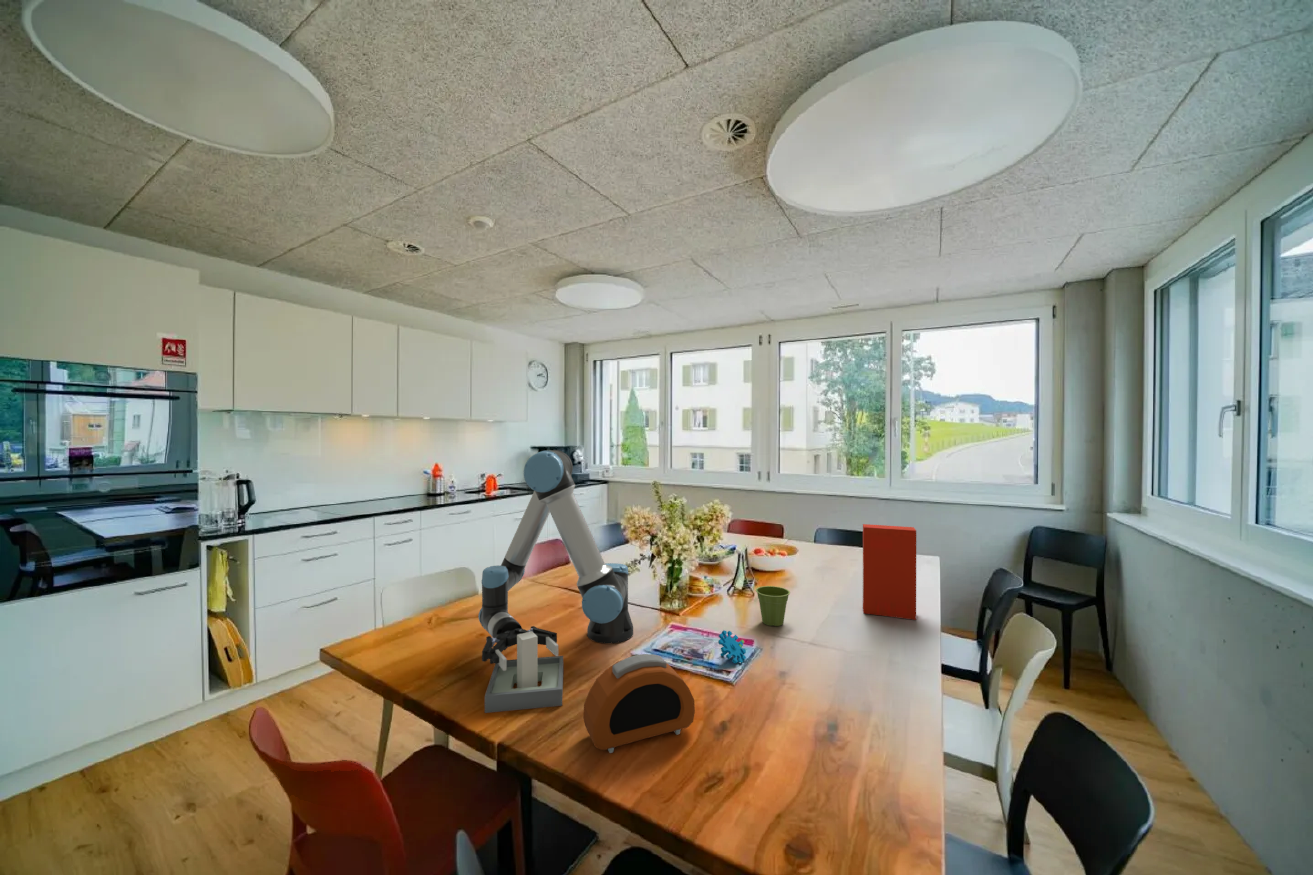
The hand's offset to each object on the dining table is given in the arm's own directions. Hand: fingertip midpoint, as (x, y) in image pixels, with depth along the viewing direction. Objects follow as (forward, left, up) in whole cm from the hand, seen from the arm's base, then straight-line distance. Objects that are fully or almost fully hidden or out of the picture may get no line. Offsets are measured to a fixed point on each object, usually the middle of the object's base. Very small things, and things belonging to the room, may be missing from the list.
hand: (531, 657), depth 121 cm
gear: (-57, -10, -10) cm, 59 cm away
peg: (+1, -3, -10) cm, 10 cm away
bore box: (+1, -3, -10) cm, 10 cm away
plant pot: (-80, -34, -10) cm, 87 cm away
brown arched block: (-25, +20, -10) cm, 33 cm away
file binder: (-126, -35, -10) cm, 131 cm away
